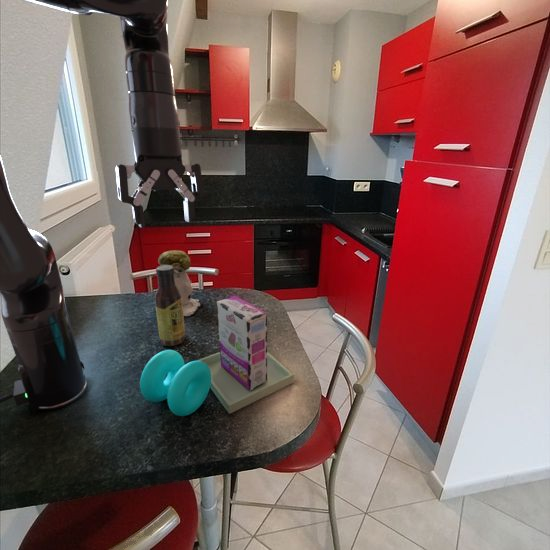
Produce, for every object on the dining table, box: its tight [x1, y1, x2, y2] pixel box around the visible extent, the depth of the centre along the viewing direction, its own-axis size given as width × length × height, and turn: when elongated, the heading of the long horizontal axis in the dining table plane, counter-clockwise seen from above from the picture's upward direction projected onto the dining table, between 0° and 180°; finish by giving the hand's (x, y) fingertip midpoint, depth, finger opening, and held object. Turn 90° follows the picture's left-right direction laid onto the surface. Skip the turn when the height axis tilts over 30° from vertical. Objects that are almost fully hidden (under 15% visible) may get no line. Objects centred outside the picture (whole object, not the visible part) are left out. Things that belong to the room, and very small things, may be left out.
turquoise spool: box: [139, 349, 211, 417], centre depth 61 cm, size 10×10×10 cm
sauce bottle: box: [154, 265, 186, 347], centre depth 79 cm, size 7×6×20 cm
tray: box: [196, 351, 295, 415], centre depth 70 cm, size 15×16×2 cm
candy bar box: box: [216, 295, 268, 391], centre depth 67 cm, size 11×5×16 cm, turn 41°
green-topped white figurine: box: [157, 249, 201, 317], centre depth 95 cm, size 12×13×18 cm
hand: (166, 223), depth 59 cm, fingers open, 8 cm apart
